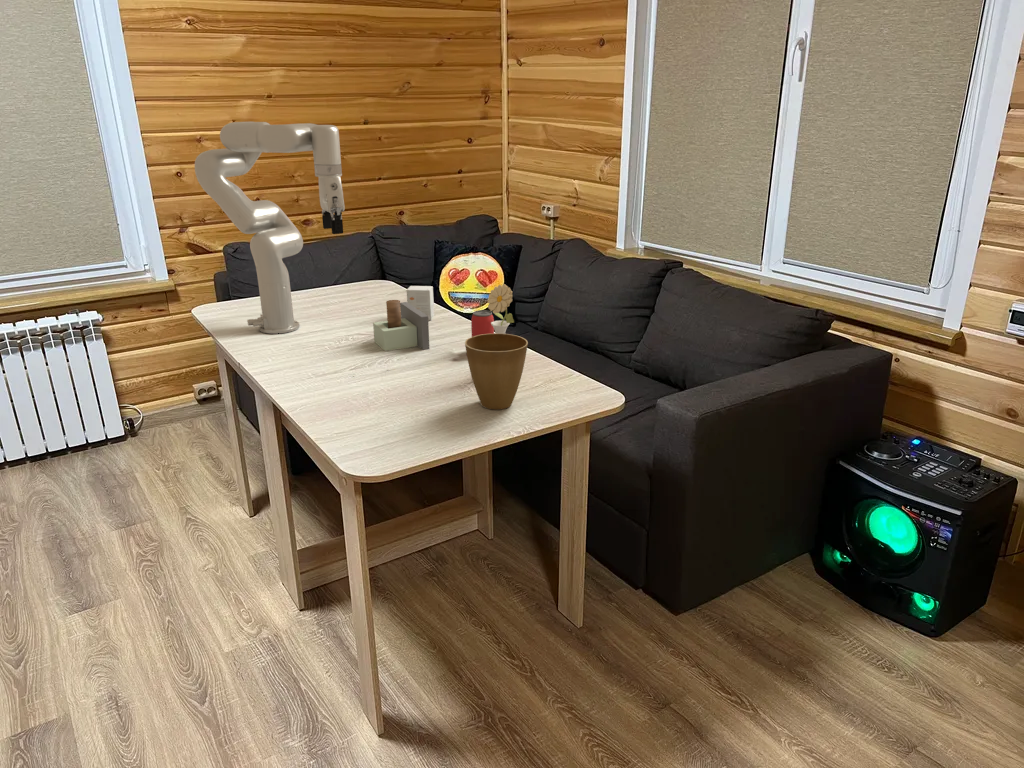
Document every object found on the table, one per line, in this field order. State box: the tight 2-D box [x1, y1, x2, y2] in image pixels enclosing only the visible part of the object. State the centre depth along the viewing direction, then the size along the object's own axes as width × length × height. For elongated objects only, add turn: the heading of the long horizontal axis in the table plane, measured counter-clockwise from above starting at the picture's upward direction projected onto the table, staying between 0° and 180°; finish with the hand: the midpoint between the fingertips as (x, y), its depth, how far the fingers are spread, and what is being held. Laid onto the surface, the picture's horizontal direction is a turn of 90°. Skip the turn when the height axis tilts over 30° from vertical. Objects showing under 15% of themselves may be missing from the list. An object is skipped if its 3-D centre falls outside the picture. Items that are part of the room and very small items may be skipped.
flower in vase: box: [487, 283, 515, 334], centre depth 199 cm, size 13×11×25 cm
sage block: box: [372, 318, 419, 352], centre depth 222 cm, size 10×10×6 cm
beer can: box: [470, 309, 495, 337], centre depth 217 cm, size 7×7×12 cm
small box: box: [406, 285, 435, 321], centre depth 251 cm, size 8×6×10 cm
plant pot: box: [464, 332, 529, 410], centre depth 180 cm, size 15×15×16 cm
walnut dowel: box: [385, 299, 402, 329], centre depth 221 cm, size 4×4×12 cm
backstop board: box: [400, 301, 430, 351], centre depth 220 cm, size 22×18×11 cm
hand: (333, 230), depth 220 cm, fingers open, 9 cm apart
